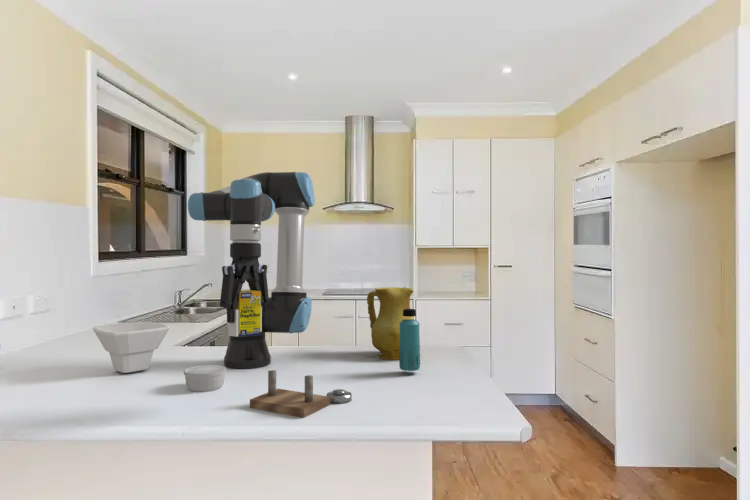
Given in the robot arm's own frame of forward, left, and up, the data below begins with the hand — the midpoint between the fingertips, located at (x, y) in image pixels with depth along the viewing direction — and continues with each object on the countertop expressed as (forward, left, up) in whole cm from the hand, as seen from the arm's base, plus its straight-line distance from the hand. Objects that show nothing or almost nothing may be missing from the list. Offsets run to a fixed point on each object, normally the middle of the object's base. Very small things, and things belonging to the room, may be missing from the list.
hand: (245, 333), depth 131 cm
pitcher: (+9, +68, -18) cm, 71 cm away
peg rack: (+11, +3, -17) cm, 21 cm away
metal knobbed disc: (+19, +13, -17) cm, 29 cm away
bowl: (-54, +9, -18) cm, 57 cm away
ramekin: (-20, +6, -18) cm, 27 cm away
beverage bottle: (+24, +47, -18) cm, 56 cm away
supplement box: (0, 0, 0) cm, 0 cm away
